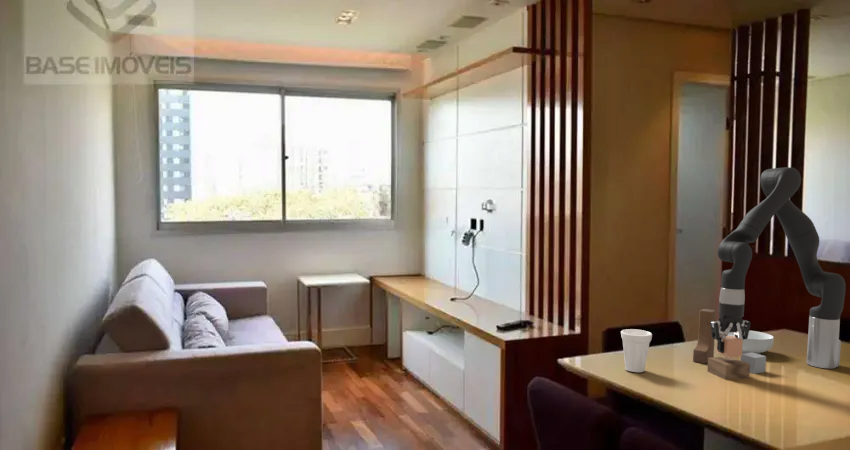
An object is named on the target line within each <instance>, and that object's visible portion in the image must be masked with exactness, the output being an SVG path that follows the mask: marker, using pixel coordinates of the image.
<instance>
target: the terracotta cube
mask: <svg viewBox="0 0 850 450" xmlns="http://www.w3.org/2000/svg"><path fill="white" fill-rule="evenodd" d="M724 342H725V344H724V353H720V352H718V350H717V347H716V349H715V353H717V354H720V355H721V356H723V357H733V358H735V357H741V356H742V345H743V340H742V339H739V338H737V337H734V336H726V338H725V340H724Z"/></svg>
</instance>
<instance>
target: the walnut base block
mask: <svg viewBox="0 0 850 450" xmlns="http://www.w3.org/2000/svg"><path fill="white" fill-rule="evenodd" d="M706 372H707V373H710V374H712V375H714V376H717V377H719V378H721V379H723V380H741V379H742V380H743V379H750V364H748V363H746V362H743V361H741V359H738V358H736V357H727V356H718V357H717V356H715V357H713V358H708V362H707V370H706Z"/></svg>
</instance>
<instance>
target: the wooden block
mask: <svg viewBox="0 0 850 450" xmlns="http://www.w3.org/2000/svg"><path fill="white" fill-rule="evenodd" d="M698 315H699V317H698V319H699V320H698V334H697V335H698V338H697V343H696V346H695V347H694V348H693V350H692V351H693V353H692V361H693V363H694V362H695V363H700V364H705V365H706V364H708V358H713V357H714V355H715V340H716V339H713V338H712V334H711V325H710V322H711V321H714V322H715V321H717V320H716V317H717V311H716V310H715V309H708V308H702V309H700V310H699V314H698Z"/></svg>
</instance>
